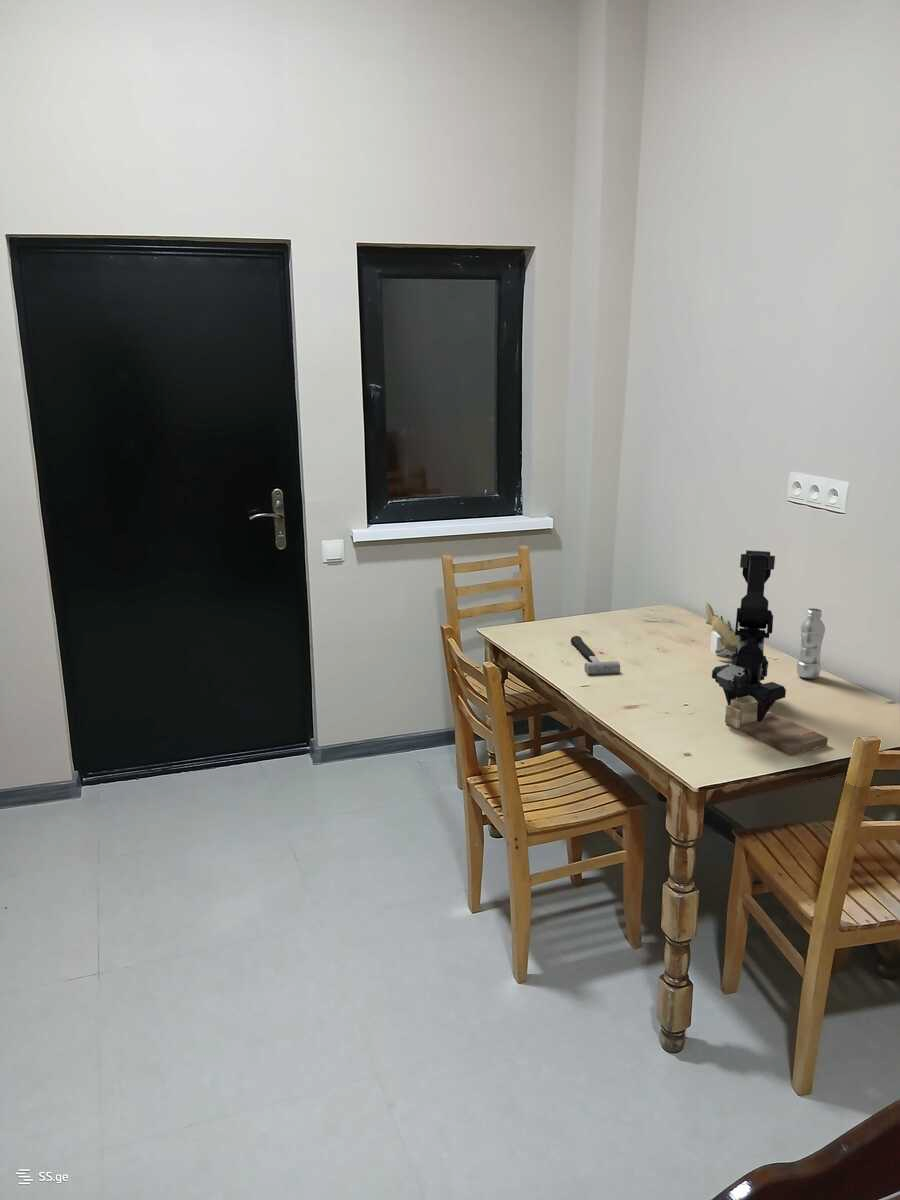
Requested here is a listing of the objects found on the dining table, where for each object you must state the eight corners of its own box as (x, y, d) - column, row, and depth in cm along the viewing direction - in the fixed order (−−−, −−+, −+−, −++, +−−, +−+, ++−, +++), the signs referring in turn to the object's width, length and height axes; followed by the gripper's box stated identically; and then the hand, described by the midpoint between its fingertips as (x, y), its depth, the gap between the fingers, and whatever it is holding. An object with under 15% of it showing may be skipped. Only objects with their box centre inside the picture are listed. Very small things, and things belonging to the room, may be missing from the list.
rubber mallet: (590, 633, 271) (620, 663, 242) (590, 644, 272) (620, 675, 243) (561, 635, 270) (588, 664, 241) (561, 646, 271) (587, 676, 242)
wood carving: (718, 633, 279) (720, 601, 277) (753, 668, 246) (756, 632, 243) (691, 633, 280) (693, 601, 277) (723, 669, 246) (726, 633, 243)
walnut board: (725, 724, 207) (726, 716, 206) (761, 715, 212) (761, 708, 212) (790, 756, 190) (791, 747, 189) (827, 745, 195) (828, 737, 194)
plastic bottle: (791, 677, 238) (798, 610, 233) (801, 671, 243) (808, 605, 238) (814, 683, 234) (821, 614, 229) (823, 676, 238) (831, 609, 233)
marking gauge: (724, 722, 205) (726, 700, 204) (760, 713, 210) (762, 692, 209) (737, 728, 202) (738, 706, 200) (772, 719, 207) (774, 697, 205)
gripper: (697, 649, 205) (693, 708, 209) (755, 671, 189) (749, 735, 193) (730, 642, 210) (726, 700, 214) (790, 664, 194) (784, 726, 198)
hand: (744, 714), depth 205 cm, fingers open, 9 cm apart
